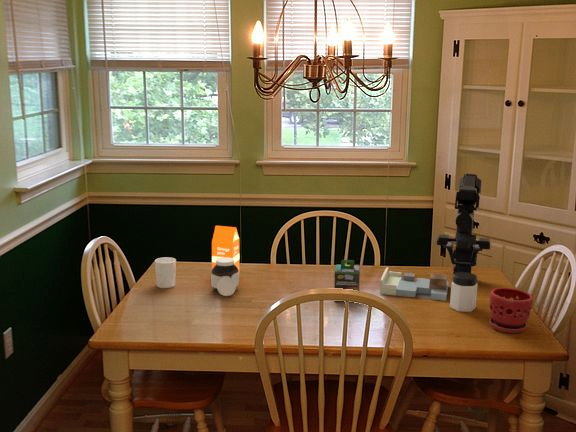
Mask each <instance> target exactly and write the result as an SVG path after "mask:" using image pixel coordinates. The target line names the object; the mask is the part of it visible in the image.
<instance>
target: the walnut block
mask: <svg viewBox="0 0 576 432" xmlns="http://www.w3.org/2000/svg"><path fill="white" fill-rule="evenodd" d="M429 279H430V283H429V288H431V289H440V290H446V285H447V281H448V274H444V273H443V274H442V273H434V272H430V276H429Z"/></svg>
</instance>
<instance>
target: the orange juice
mask: <svg viewBox="0 0 576 432" xmlns="http://www.w3.org/2000/svg"><path fill="white" fill-rule="evenodd" d="M212 236H213V237H212V240H211V270H212V269H213V267H214V266H215V265H216V259H218V258H222V257H229V258H233V259H234V265H236V266H237V268H238V270H239V271H240V258H241V257H240V253H241V252H240V237H239V233H238V229H237V227H236V226H234V227H233V226H224V225H215V226H214V232H213V235H212Z"/></svg>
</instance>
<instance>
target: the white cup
mask: <svg viewBox="0 0 576 432" xmlns="http://www.w3.org/2000/svg"><path fill="white" fill-rule="evenodd" d="M154 268H155V269H154V270H155V279H156V286H157V287H158V288H159V289H171V288H174V287H175V286H176V273H177V269H176V268H177V259H176V258H174V257H171V256H170V257H169V256H168V257H167V256H166V257H158V258H156V259H155V260H154Z"/></svg>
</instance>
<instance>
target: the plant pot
mask: <svg viewBox="0 0 576 432" xmlns="http://www.w3.org/2000/svg"><path fill="white" fill-rule="evenodd" d="M533 302H534V296H533V295H532V294H530V293H529V292H527V291H524V290H521V289H517V288H511V287H497V288H493V289H492V290H491V292H490V296H489V310H490V311H489V312H490V315H491V317H490V318H489V324H490V326H491V327H492V328H494V329H495V330H497V331H499V332H504V333H507V334H516V333H517V334H518V333H522V332H524V331H525V330H526V329H527V324H526V322H527V321H528V319H529V317H530V315H531V311H532V308H533Z"/></svg>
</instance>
